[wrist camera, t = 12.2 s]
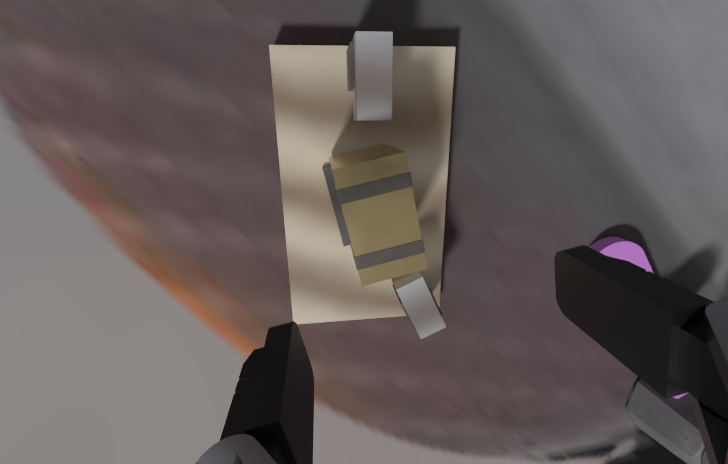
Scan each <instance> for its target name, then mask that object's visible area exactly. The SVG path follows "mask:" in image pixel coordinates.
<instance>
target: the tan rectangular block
mask: <svg viewBox="0 0 728 464" xmlns="http://www.w3.org/2000/svg"><path fill="white" fill-rule="evenodd" d="M329 160H330V164H331V169H332V175H333V179H334V183H335V188H336V192H337V196H338V200H339V203H340V205H341V207H342V211H343V215H344V219H345V223H346V228H347V232H348V237H349V241H350V245H351V249H352V253H353V257H354V261H355V265H356V269H357V270H358V273H359V277H360V281H361V284H362V286H365V285H369V284H373V283H377V282H380V281H384V280H388V279H392V278H395V277H399V276H403V275H407V274H411V273H414V272H418V271H422V270H426V269H427V264H426V259H425V254H424V253H425V248H424V242H423V239H422V237H421V232H420V227H419V221H418V216H417V210H416V205H415V200H414V194H413V189H412V186H413V183H412V177H411V172H410V171H409V167H408V162H407V156H406V152H405V151H403V150H400V149H398V148H395V147H393V146H390V145H388V144H381V145H377V146H373V147H369V148H365V149H361V150H357V151H353V152H349V153H345V154H341V155H337V156H333V157H329Z"/></svg>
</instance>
